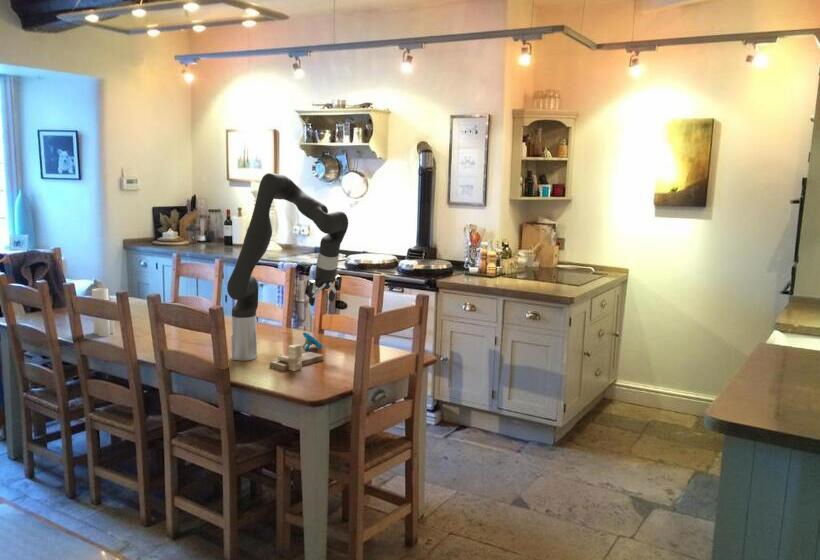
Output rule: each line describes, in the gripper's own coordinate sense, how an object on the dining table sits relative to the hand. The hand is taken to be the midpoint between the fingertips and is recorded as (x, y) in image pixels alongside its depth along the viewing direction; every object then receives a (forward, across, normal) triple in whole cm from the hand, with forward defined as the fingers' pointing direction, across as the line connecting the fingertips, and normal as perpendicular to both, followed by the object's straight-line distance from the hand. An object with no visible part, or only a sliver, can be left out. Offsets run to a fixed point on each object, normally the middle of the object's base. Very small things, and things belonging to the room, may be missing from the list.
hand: (321, 302), depth 244 cm
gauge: (+26, +11, +1) cm, 28 cm away
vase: (+58, +46, -92) cm, 118 cm away
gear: (+34, -11, -16) cm, 39 cm away
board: (+28, +5, -2) cm, 28 cm away
